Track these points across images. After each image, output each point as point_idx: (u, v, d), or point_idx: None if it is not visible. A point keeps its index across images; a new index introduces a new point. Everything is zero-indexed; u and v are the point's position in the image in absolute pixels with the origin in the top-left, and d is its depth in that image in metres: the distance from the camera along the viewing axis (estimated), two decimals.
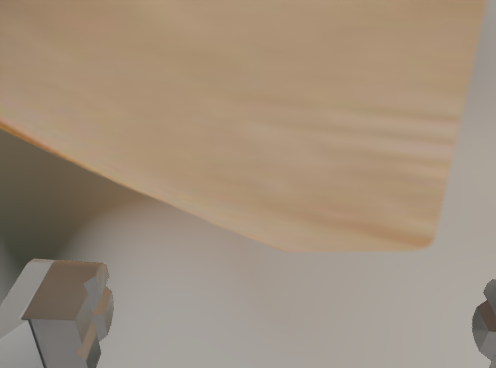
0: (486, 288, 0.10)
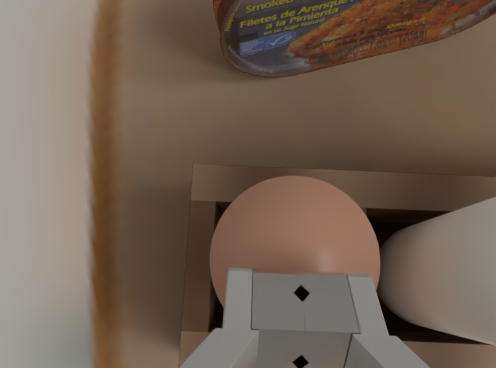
0: None
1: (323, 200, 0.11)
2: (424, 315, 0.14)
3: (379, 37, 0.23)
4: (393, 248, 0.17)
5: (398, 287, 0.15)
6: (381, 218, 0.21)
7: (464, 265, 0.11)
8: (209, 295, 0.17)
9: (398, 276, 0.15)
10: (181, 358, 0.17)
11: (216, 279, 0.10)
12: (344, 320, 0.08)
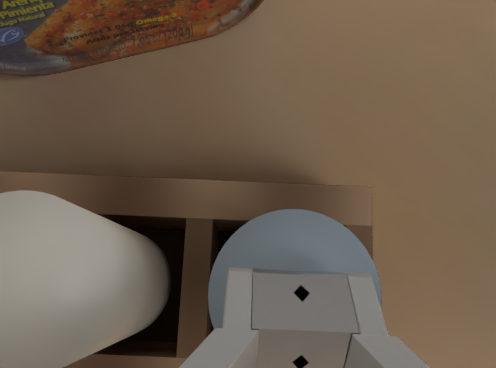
0: None
1: None
2: None
3: (137, 34, 0.22)
4: None
5: None
6: None
7: None
8: None
9: None
10: None
11: None
12: (344, 320, 0.08)
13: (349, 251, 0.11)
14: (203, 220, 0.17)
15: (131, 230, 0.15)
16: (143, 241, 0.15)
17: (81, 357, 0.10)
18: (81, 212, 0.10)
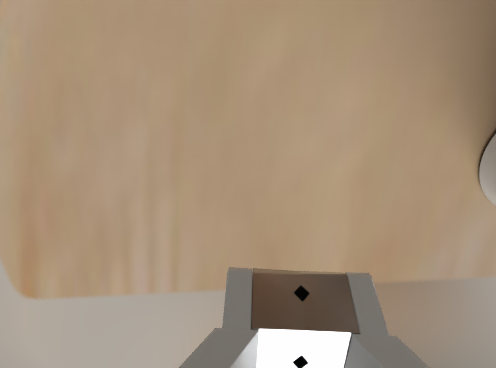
0: None
1: None
2: None
3: None
4: None
5: None
6: None
7: None
8: None
9: None
10: None
11: None
12: (344, 320, 0.08)
13: None
14: None
15: None
16: None
17: None
18: None
